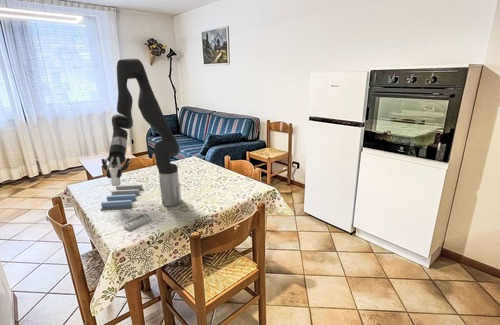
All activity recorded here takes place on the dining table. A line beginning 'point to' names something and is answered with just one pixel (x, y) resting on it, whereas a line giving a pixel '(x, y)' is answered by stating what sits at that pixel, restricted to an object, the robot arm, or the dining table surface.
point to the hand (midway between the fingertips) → (113, 177)
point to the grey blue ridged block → (122, 197)
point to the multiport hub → (137, 221)
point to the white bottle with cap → (114, 175)
